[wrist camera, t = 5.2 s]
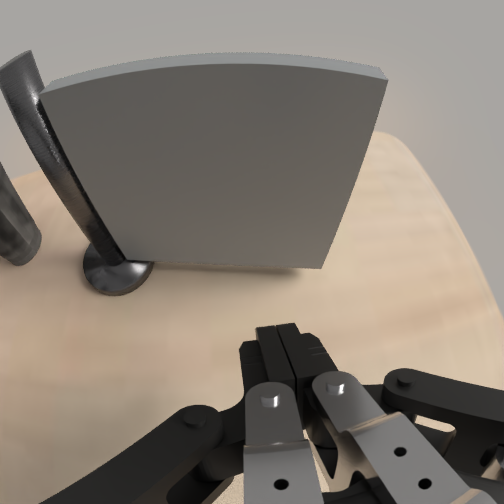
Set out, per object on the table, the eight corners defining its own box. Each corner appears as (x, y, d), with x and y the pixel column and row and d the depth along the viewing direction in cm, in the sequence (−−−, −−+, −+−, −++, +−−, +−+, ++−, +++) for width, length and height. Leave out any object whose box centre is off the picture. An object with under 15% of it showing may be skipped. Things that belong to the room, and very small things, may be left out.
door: (127, 259, 21) (38, 94, 9) (134, 232, 22) (64, 69, 10) (321, 268, 20) (388, 80, 8) (318, 240, 22) (370, 57, 10)
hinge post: (80, 292, 21) (-59, 117, 6) (100, 230, 24) (11, 53, 9) (146, 299, 21) (14, 76, 6) (161, 231, 24) (93, 19, 9)
